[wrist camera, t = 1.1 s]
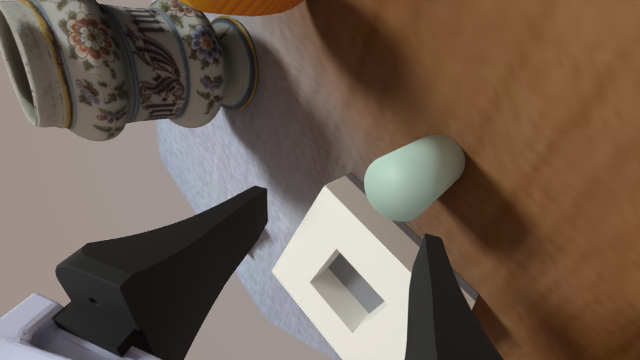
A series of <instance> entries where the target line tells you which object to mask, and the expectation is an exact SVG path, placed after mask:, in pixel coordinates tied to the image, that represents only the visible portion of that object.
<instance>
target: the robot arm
mask: <svg viewBox="0 0 640 360" xmlns="http://www.w3.org/2000/svg"><path fill="white" fill-rule="evenodd" d="M267 222H268V213H267V189H266V188H262V187H259V186H253V187H251V188H249V189H247V190H245V191H244V192H242V193H240V194H238V195H236V196H234V197H232V198H230V199H228V200H227V201H225V202H223V203H221V204H219V205H217V206H215V207H212V208H210V209H208V210H206V211H204V212H202V213H199V214H197V215H195V216H193V217H190V218H188V219H185V220H182V221H179V222H177V223H174V224H171V225H168V226H164V227H161V228H158V229H155V230H151V231H147V232H144V233H140V234H136V235H131V236H126V237H122V238H117V239H110V240H104V241H98V242H92V243H87V244H86V245H84V246H83V247H82V248H80V249H79V250H78V251H76V252H75V253H73V254H72V255H71V256H69V257H68V258H67V259H65V260H64V261H63V262H61V263H60V264H59V265H57V267H56V271H55V272H56V276H57V278H58V280H59V282H60V284H61V285H62V287H63V288H64V290H65V292H66V293H67V295H68V296H69V298H70V299H71V302H70V303H69V304H68V305H66V306H65V307H63V306H62V305H60V304H59V303H57V302H56V301H54V300H51V299H49V298H47V297H45V296H43V295H40V294H38V293H33V294H32V295H31V296H29V297H28V298H27V299H25V300H24V301H23V302H21V303H20V304H19V305H17V306H16V307H15V308H13V309H12V310H11V311H10V312H8V313H7V314H6V315H4V316H3V317H2V318H0V360H184V358H185V356H186V354H187V352H188V350H189V348H190V346H191V344H192V342H193V340H194V338H195V336H196V335H197V333H198V331H199V329H200V327H201V325H202V323H203V322H204V320H205V318H206V316H207V314H208V313H209V311H210V309H211V307H212V305H213V304H214V302H215V300H216V299H217V297H218V295H219V294H220V292H221V290H222V289H223V287H224V285H225V284H226V282H227V281H228V279H229V278H230V276H231V275H232V274H233V272H234V271H235V270H236V268H237V267H238V266H239V264H240V263H241V262H242V260H243V259H244V258H245V256H246V255H247V254H248V252H249V251H250V250H251V248H252V247H253V246H254V244H255V243H256V241H257V240H258V239H259V237H260V235H261V233H262V232H263V230H264V228H265V226H266V224H267ZM405 360H503V358H502V357H501V355H500V354H499V353H498V351H497V350H496V348H495V347H494V346H493V344H492V343H491V341H490V340H489V338H488V337H487V335H486V333H485V332H484V330H483V329H482V327H481V325H480V324H479V322H478V320H477V319H476V317H475V315H474V313H473V312H472V310H471V308H470V306H469V304H468V302H467V300H466V298H465V296H464V294H463V292H462V290H461V288H460V286H459V284H458V281H457V279H456V277H455V274H454V272H453V270H452V267H451V265H450V262H449V259H448V256H447V254H446V251H445V247H444V244H443V241H442V239H441V238H440V237H437V236H433V235H430V234H426V233H425V235H424V238H423V241H422V243H421V246H420V248H419V251H418V254H417V256H416V259H415V262H414V264H413V267H412V273H411V279H410V285H409V298H408V321H407V342H406V353H405Z"/></svg>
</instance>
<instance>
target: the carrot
mask: <svg viewBox="0 0 640 360" xmlns="http://www.w3.org/2000/svg"><path fill="white" fill-rule="evenodd" d="M178 1H180V2H183V3H185V4H187V5H189V6H191V7H193V8H195V9H197V10H199V11H202V12H206V13H216V14H226V15H238V16H262V15H271V14H277V13H282V12H285V11H287V10H289V9H292V8H294V7H295V6H297V5H298V4H300V3H301V2H303V1H304V0H178Z"/></svg>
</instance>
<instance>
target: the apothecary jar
mask: <svg viewBox="0 0 640 360" xmlns="http://www.w3.org/2000/svg"><path fill="white" fill-rule="evenodd" d="M0 49H1V53H2V56H3V59H4V62H5V65H6V68H7V71H8V74H9V76H10V79H11V82H12V84H13V87H14V90H15V92H16V95H17V97H18V100H19V102H20V104H21V106H22V109H23V111H24V113H25V115H26V116H27V118H28V120H29V121H30V123H31V124H32V125H33V126H36V127H58V128H67V129H69V130H71V131H72V132H73V133H75V134H76V135H78V136H81V137H83V138H85V139H88V140H92V141H106V140H110V139H112V138H114V137H116V136H117V135H119V134H120V133H121V131H122V130H123V129H124V126H125V124H126V123H131V122H138V121H147V120H157V119H169V120H171V121H172V122H174V123H175V124H177V125H180V126H183V127H187V128H197V127H201V126H203V125H205V124H207V123H209V122H210V121H211V120H212V119H213V118H214V117H215V116H216V114H217V113H218V111H219V109H220V107H221V105H222V106H223V107H225V108H227V109H230V110H240V109H242V108H244V107H246V106H247V105H248V104H249V102H250V101H251V100H252V98H253V95H254V93H255V90H256V84H257V77H258V67H257V59H256V54H255V50H254V47H253V44H252V41H251V39H250V37H249V35H248V34H247V32H246V30H245V29H244V28H243V26H242V25H241V24H240V23H239V22H238V21H236V20H235V19H233V18H231V17H229V16H220V17H217V18H215V19H214V20H213V21H212V22H211V23H210V21H209V20H208V19H207V17H206V16H205V15H204V13H203V12H202V11H199V10H197V9H195V8H193V7H191V6H189V5H187V4H185V3H183V2H180V1H178V0H156V1H155V2H154V3H152V4H151V5H150V6H149V7H148V8H147V9H145V8H127V7H119V6H111V5H104V4H98V3H97V2H96V0H17V1H0Z"/></svg>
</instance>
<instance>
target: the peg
mask: <svg viewBox="0 0 640 360" xmlns="http://www.w3.org/2000/svg"><path fill="white" fill-rule="evenodd" d="M464 168H465V156H464V153H463V150H462V149H461V147H460V146H459V144H458V143H457V142H456V141H455V140H453V139H452V138H450V137H448V136H445V135H441V134H432V135H428V136H425V137H423V138H421V139H419V140H417V141H414V142H412V143H410V144H408V145H406V146H404V147H402V148H399V149H397V150H395V151H393V152H391V153H389V154H387V155H384V156H382V157H380V158H378V159H376V160H375V161H374V162H373V163H372V164H371V165H370V166H369V168H368V169H367V171H366V174H365V179H364V188H365V193H366V196H367V198H368V200H369V202H370V204H371V205H372V207H373V208H374V209H375V210H376V211H377V212H378V213H379V214H381V215H382V216H384V217H386V218H388V219H390V220H393V221H398V222H404V221H410V220H412V219H415V218H416V217H418V216H419V215H420V214H421V213H422V212H423V211H425V210H426V209H427V208H428V207H429V206H430V205H431V204H432V203H433V202H434V201H435V200H436V199H437V198H438V197H440V196H441V195H442V194H443V193H444V192H445V191H446V190H447V189H448V188H449V187H450V186H451V185H452V184H453V183H455V182H456V181H457V180H458V179H459V178H460V176H461V175H462V173H463V171H464Z"/></svg>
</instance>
